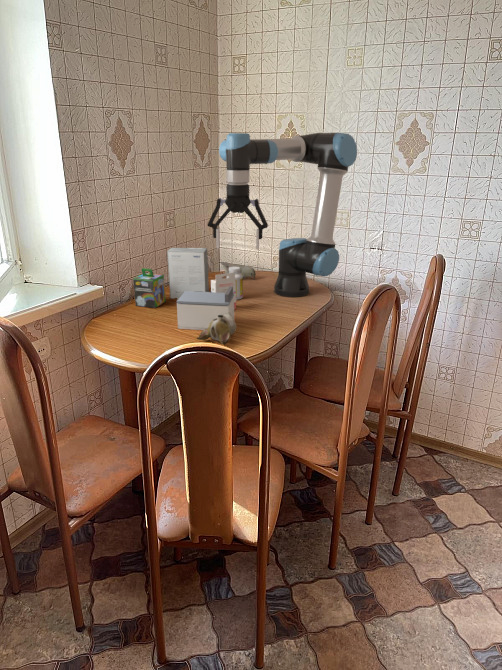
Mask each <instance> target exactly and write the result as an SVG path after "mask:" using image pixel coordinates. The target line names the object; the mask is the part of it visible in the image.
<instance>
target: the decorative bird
mask: <svg viewBox="0 0 502 670" xmlns="http://www.w3.org/2000/svg"><path fill="white" fill-rule="evenodd" d="M220 265H222V267H223V270H224V273H223V272H222V271H221V272H220V273H221V274H226V273H229V267H240V273H241V274H242V276H243V279H246V278H250V279H253V280H254V281H255V280H256V276H257V273H256V270H255V269H254V267H252V266H249V265H242V264H239V263H238V264H237V263H230V262H227V261H220Z"/></svg>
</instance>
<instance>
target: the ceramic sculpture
mask: <svg viewBox="0 0 502 670" xmlns="http://www.w3.org/2000/svg"><path fill="white" fill-rule="evenodd" d="M236 330H237V323H236V321H235V318H234V319H233V317H232V315H231V314H230V312H228V313H227V314H225V315H218V316H217V317H216V319H214V320H212V322H210V324H209V326H208V328H207V329H204V330H201V332H200V333H199V335H198V337H196V340H197V341H198V340H199V341H206V340H209V339H210V338H211V340H213V341H218V342H220V343H221V344H222V345H225V344H227V343H229V340H230V339H231V337H232V335H233V334H234V333H235V332H236Z"/></svg>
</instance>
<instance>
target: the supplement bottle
mask: <svg viewBox="0 0 502 670" xmlns="http://www.w3.org/2000/svg"><path fill="white" fill-rule="evenodd" d="M229 273H235V281H236V301H237V300H241V299H243V297H244V295H243V294H244V293H243V292H244V288H243V286H244V285H243V284H244V282H243V281H244V280H243V279H244V278H243V276H242V274H241V273H240V267H229ZM226 278H229V277H228V276H226Z"/></svg>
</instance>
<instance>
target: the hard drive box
mask: <svg viewBox="0 0 502 670" xmlns="http://www.w3.org/2000/svg"><path fill="white" fill-rule="evenodd" d="M166 256H167V269H168V270H167V272H168V286H169V287H168V288H169V298H170V299H175V298H177V299H176V300H178V299H179V298H180V297H181V295H182V294H183V293H184V292H185V291H194V292H210V284H209V283H210V282H209V260H208V259H209V258H208V248H207V247H171V248H170V249H168V250H167V251H166Z"/></svg>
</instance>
